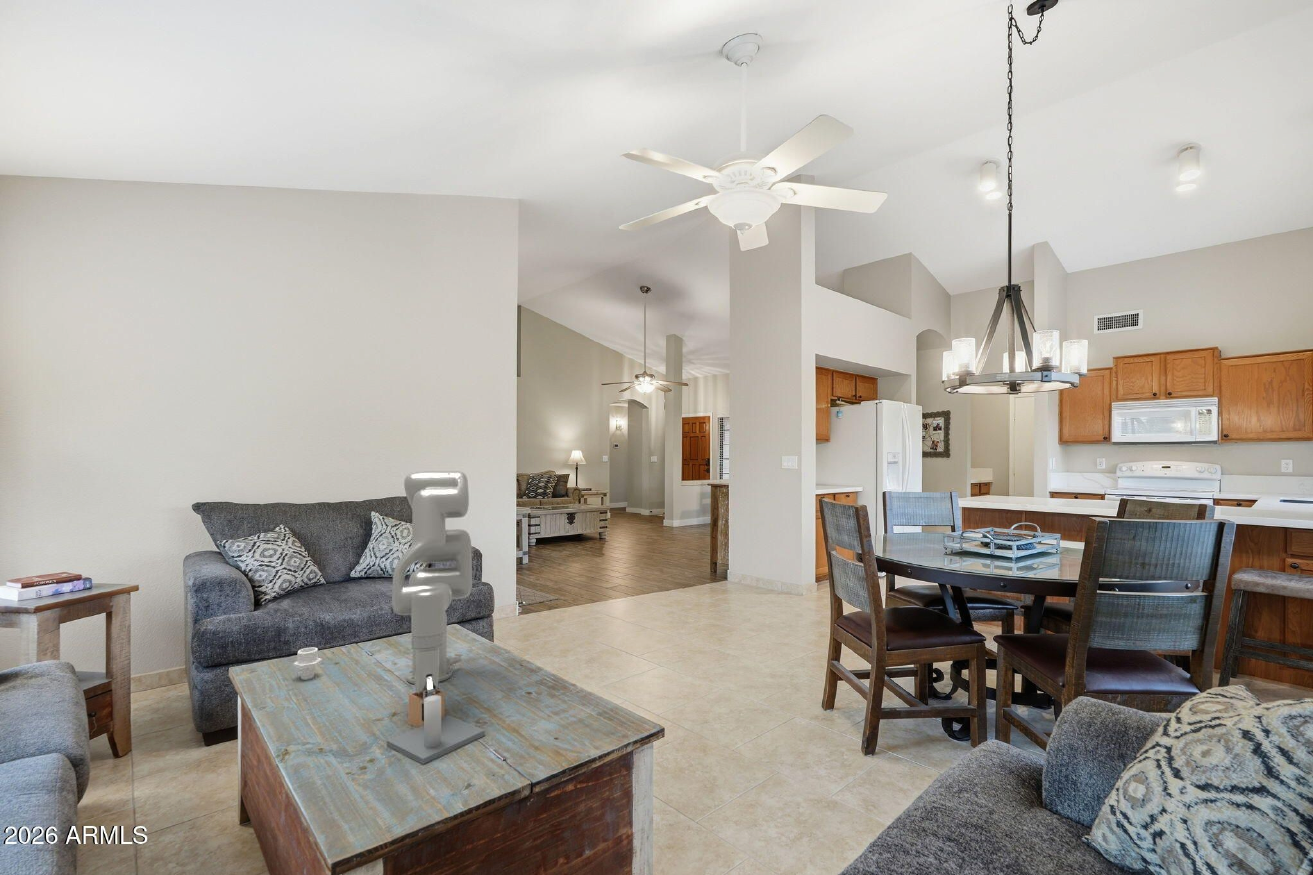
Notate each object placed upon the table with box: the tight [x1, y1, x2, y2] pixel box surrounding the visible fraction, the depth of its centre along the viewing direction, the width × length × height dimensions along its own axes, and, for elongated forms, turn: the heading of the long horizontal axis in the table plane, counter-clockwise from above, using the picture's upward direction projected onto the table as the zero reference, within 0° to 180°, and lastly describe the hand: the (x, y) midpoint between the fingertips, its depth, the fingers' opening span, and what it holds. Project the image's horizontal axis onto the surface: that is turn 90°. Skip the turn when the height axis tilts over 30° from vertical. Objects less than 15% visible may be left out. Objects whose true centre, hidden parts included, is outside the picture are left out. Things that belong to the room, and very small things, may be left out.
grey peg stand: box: [386, 695, 486, 765], centre depth 139 cm, size 16×14×11 cm
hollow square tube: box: [408, 688, 446, 728], centre depth 149 cm, size 6×6×7 cm
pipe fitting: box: [293, 646, 323, 681], centre depth 178 cm, size 6×7×8 cm
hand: (427, 712), depth 149 cm, fingers closed on hollow square tube, 8 cm apart
